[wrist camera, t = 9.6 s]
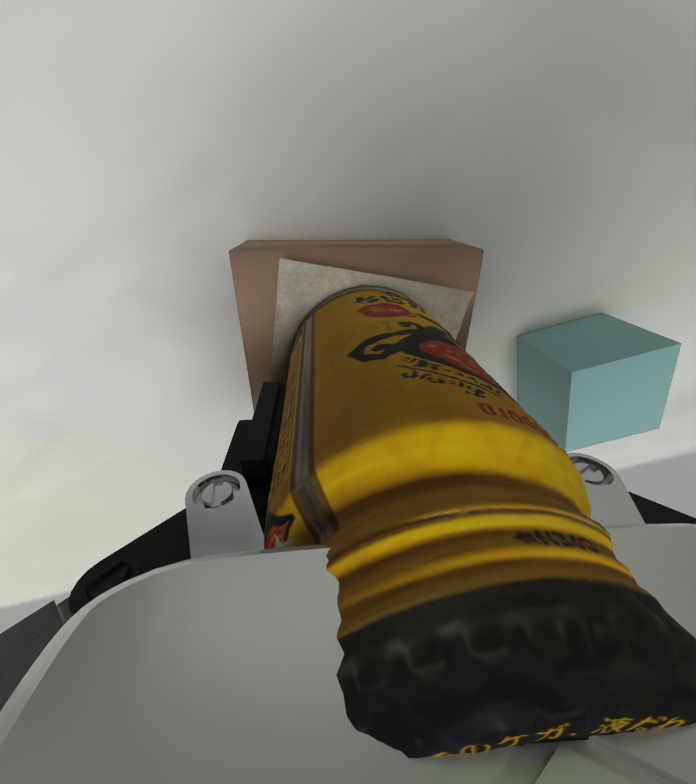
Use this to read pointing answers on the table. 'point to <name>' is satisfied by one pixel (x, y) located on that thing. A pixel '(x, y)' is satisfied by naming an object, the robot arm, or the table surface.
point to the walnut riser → (381, 257)
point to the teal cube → (594, 379)
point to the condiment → (453, 534)
